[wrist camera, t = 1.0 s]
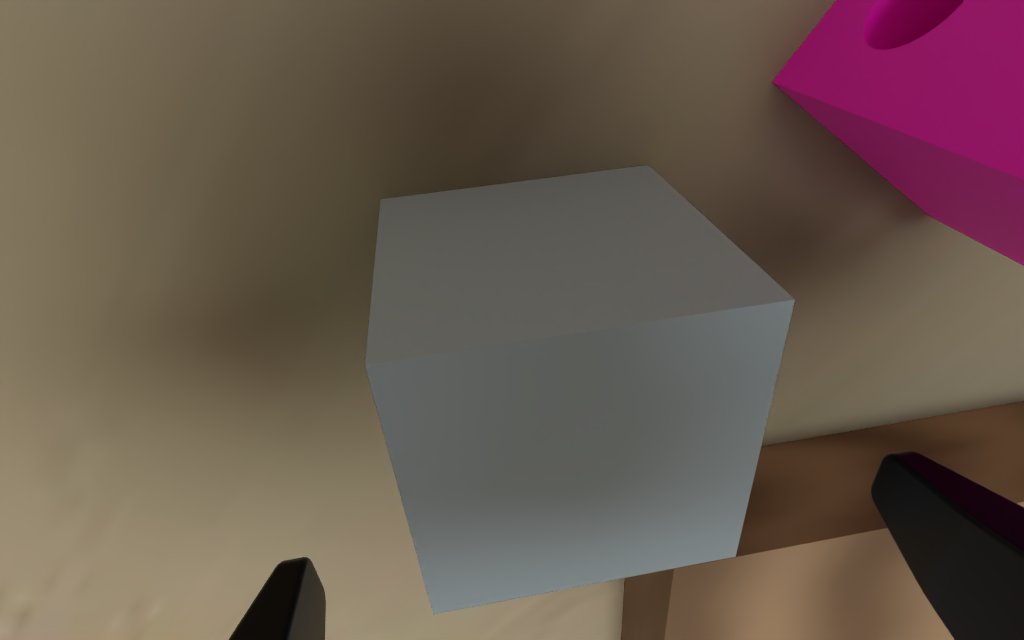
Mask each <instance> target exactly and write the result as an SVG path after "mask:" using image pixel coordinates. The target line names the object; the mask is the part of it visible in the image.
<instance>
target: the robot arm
mask: <svg viewBox="0 0 1024 640" xmlns="http://www.w3.org/2000/svg"><path fill="white" fill-rule="evenodd" d="M871 496H872V499H873V502H874V504H875V506H876V508H877V510H878V512H879V514H880V515H881V517H882V519H883V521H884V523H885V525H886V526H887V528H888V530H889V532H890V534H891V535H892V537H893V539H894V541H895V543H896V545H897V546H898V548H899V550H900V552H901V554H902V556H903V557H904V559H905V561H906V563H907V565H908V567H909V568H910V570H911V572H912V574H913V576H914V578H915V579H916V581H917V583H918V584H919V586H920V588H921V590H922V591H923V593H924V595H925V596H926V598H927V599H928V601H929V602H930V604H931V606H932V607H933V609H934V610H935V612H936V613H937V615H938V616H939V618H940V619H941V621H942V622H943V624H944V625H945V627H946V628H947V629H948V631H949V632H950V634H951V635H952V637H953V638H954V640H1024V507H1022V506H1021V505H1019V504H1017V503H1015V502H1013V501H1011V500H1009V499H1007V498H1005V497H1003V496H1001V495H999V494H997V493H995V492H994V491H992V490H990V489H988V488H986V487H984V486H982V485H980V484H978V483H976V482H974V481H972V480H970V479H969V478H967V477H965V476H963V475H961V474H959V473H957V472H955V471H953V470H951V469H949V468H947V467H945V466H943V465H942V464H940V463H938V462H936V461H934V460H932V459H930V458H928V457H926V456H924V455H922V454H920V453H918V452H915V451H911V450H906V451H900V452H894V453H889V454H887V455H885V456H884V457H883V459H882V461H881V463H880V466H879V468H878V471H877V473H876V476H875V478H874V481H873V483H872V486H871ZM325 612H326V600H325V592H324V588H323V586H322V583H321V581H320V579H319V577H318V574H317V572H316V570H315V568H314V566H313V563H312V561H311V560H310V559H309V558H307V557H302V558H296V559H291V560H285V561H282V562H281V563H279V564H278V565H277V566H276V568H275V569H274V571H273V572H272V574H271V575H270V577H269V578H268V580H267V581H266V583H265V584H264V586H263V588H262V589H261V591H260V592H259V594H258V595H257V597H256V598H255V600H254V601H253V603H252V604H251V606H250V608H249V609H248V611H247V612H246V614H245V615H244V617H243V618H242V620H241V621H240V623H239V624H238V626H237V628H236V629H235V631H234V632H233V634H232V635H231V637H230V638H229V640H325Z"/></svg>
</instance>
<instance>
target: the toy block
mask: <svg viewBox="0 0 1024 640" xmlns="http://www.w3.org/2000/svg"><path fill="white" fill-rule="evenodd" d="M773 83H774V84H775V85H776V86H778V87H779V88H780V89H781V90H782V91H783V92H785V93H786V94H787V95H788V96H789V97H790V98H792V99H793V100H794V101H795V102H796V103H797V104H799V105H800V106H801V107H802V108H803V109H804V110H806V111H807V112H808V113H809V114H810V115H811V116H813V117H814V118H815V119H816V120H817V121H819V122H820V123H821V124H822V125H823V126H824V127H826V128H827V129H828V130H829V131H830V132H831V133H833V134H834V135H835V136H836V137H837V138H838V139H840V140H841V141H842V142H843V143H844V144H845V145H847V146H848V147H849V148H850V149H851V150H852V151H854V152H855V153H856V154H857V155H858V156H860V157H861V158H862V159H863V160H864V161H865V162H867V163H868V164H869V165H870V166H871V167H872V168H874V169H875V170H876V171H877V172H878V173H879V174H881V175H882V176H883V177H884V178H885V179H886V180H888V181H889V182H890V183H891V184H892V185H893V186H895V187H896V188H897V189H898V190H899V191H901V192H902V193H903V194H904V195H905V196H906V197H908V198H909V199H910V200H911V201H912V202H913V203H915V204H916V205H917V206H918V207H919V208H920V209H922V210H923V211H924V212H925V213H926V214H927V215H929V216H930V217H932V218H934V219H936V220H938V221H940V222H942V223H944V224H946V225H948V226H949V227H951V228H953V229H955V230H957V231H959V232H961V233H963V234H965V235H966V236H968V237H970V238H972V239H974V240H976V241H978V242H980V243H982V244H984V245H985V246H987V247H989V248H991V249H993V250H995V251H997V252H999V253H1001V254H1003V255H1004V256H1006V257H1008V258H1010V259H1012V260H1014V261H1016V262H1018V263H1020V264H1021V265H1023V266H1024V0H836V1H835V3H834V4H833V5H832V7H831V8H830V9H829V10H828V12H827V13H826V14H825V15H824V17H823V18H822V19H821V21H820V22H819V23H818V24H817V26H816V27H815V28H814V29H813V31H812V32H811V33H810V35H809V36H808V37H807V38H806V40H805V41H804V42H803V43H802V45H801V46H800V47H799V49H798V50H797V51H796V52H795V54H794V55H793V56H792V57H791V59H790V60H789V61H788V62H787V64H786V65H785V66H784V68H783V69H782V70H781V71H780V73H779V74H778V75H777V76H776V78H775V79H774V80H773Z"/></svg>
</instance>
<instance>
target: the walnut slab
mask: <svg viewBox="0 0 1024 640" xmlns="http://www.w3.org/2000/svg"><path fill="white" fill-rule="evenodd" d="M906 450H911V451H915V452H918V453H920V454H922V455H924V456H926V457H928V458H930V459H932V460H934V461H936V462H938V463H940V464H942V465H943V466H945V467H947V468H949V469H951V470H953V471H955V472H957V473H959V474H961V475H963V476H965V477H967V478H969V479H970V480H972V481H974V482H976V483H978V484H980V485H982V486H984V487H986V488H988V489H990V490H992V491H994V492H995V493H997V494H999V495H1001V496H1003V497H1005V498H1007V499H1009V500H1011V501H1013V502H1015V503H1017V504H1019V505H1021V506H1022V507H1024V401H1022V402H1016V403H1010V404H1004V405H999V406H993V407H987V408H981V409H975V410H970V411H964V412H958V413H952V414H947V415H941V416H935V417H929V418H924V419H918V420H912V421H906V422H901V423H895V424H889V425H883V426H878V427H872V428H866V429H860V430H855V431H849V432H843V433H837V434H832V435H826V436H820V437H814V438H809V439H803V440H797V441H791V442H786V443H780V444H774V445H768V446H762V447H761V449H760V454H759V458H758V462H757V467H756V471H755V475H754V480H753V484H752V488H751V493H750V497H749V501H748V506H747V510H746V514H745V519H744V523H743V527H742V531H741V536H740V540H739V544H738V549H737V553H736V557H731V558H726V559H721V560H715V561H710V562H705V563H700V564H694V565H689V566H684V567H679V568H674V569H668V570H663V571H658V572H653V573H647V574H642V575H637V576H632V577H627V578H625V582H624V599H623V616H622V633H621V640H954V638H953V637H952V635H951V634H950V632H949V631H948V629H947V628H946V627H945V625H944V624H943V622H942V621H941V619H940V618H939V616H938V615H937V613H936V612H935V610H934V609H933V607H932V606H931V604H930V602H929V601H928V599H927V598H926V596H925V595H924V593H923V591H922V590H921V588H920V586H919V584H918V583H917V581H916V579H915V578H914V576H913V574H912V572H911V570H910V568H909V567H908V565H907V563H906V561H905V559H904V557H903V556H902V554H901V552H900V550H899V548H898V546H897V545H896V543H895V541H894V539H893V537H892V535H891V534H890V532H889V530H888V528H887V526H886V525H885V523H884V521H883V519H882V517H881V515H880V514H879V512H878V510H877V508H876V506H875V504H874V502H873V499H872V496H871V486H872V483H873V481H874V478H875V476H876V473H877V471H878V468H879V466H880V463H881V461H882V459H883V457H884V456H885V455H887V454H889V453H894V452H900V451H906Z"/></svg>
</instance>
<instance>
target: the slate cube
mask: <svg viewBox="0 0 1024 640" xmlns="http://www.w3.org/2000/svg"><path fill="white" fill-rule="evenodd" d="M794 302H795V299H794V298H793V297H792V296H791V295H790V294H789V293H788V292H786V291H785V290H784V289H783V288H782V287H781V286H780V285H779V284H778V283H777V282H776V281H774V280H773V279H772V278H771V277H770V276H769V275H768V274H767V273H766V272H765V271H764V270H763V269H761V268H760V267H759V266H758V265H757V264H756V263H755V262H754V261H753V260H752V259H751V258H749V257H748V256H747V255H746V254H745V253H744V252H743V251H742V250H741V249H740V248H739V247H737V246H736V245H735V244H734V243H733V242H732V241H731V240H730V239H729V238H728V237H727V236H725V235H724V234H723V233H722V232H721V231H720V230H719V229H718V228H717V227H716V226H715V225H713V224H712V223H711V222H710V221H709V220H708V219H707V218H706V217H705V216H704V215H703V214H702V213H700V212H699V211H698V210H697V209H696V208H695V207H694V206H693V205H692V204H691V203H690V202H688V201H687V200H686V199H685V198H684V197H683V196H682V195H681V194H680V193H679V192H678V191H676V190H675V189H674V188H673V187H672V186H671V185H670V184H669V183H668V182H667V181H666V180H664V179H663V178H662V177H661V176H660V175H659V174H658V173H657V172H656V171H655V170H654V169H652V168H651V167H650V166H649V165H644V166H636V167H629V168H621V169H613V170H605V171H597V172H590V173H582V174H574V175H566V176H558V177H551V178H543V179H535V180H527V181H519V182H511V183H504V184H496V185H488V186H480V187H472V188H465V189H457V190H449V191H441V192H433V193H426V194H418V195H410V196H402V197H394V198H387V199H380V209H379V220H378V230H377V241H376V252H375V262H374V273H373V284H372V294H371V305H370V315H369V326H368V337H367V347H366V358H365V368H366V371H367V375H368V378H369V382H370V386H371V389H372V393H373V397H374V400H375V404H376V408H377V411H378V415H379V419H380V422H381V426H382V429H383V433H384V437H385V440H386V444H387V448H388V451H389V455H390V459H391V462H392V466H393V469H394V473H395V477H396V480H397V484H398V488H399V491H400V495H401V499H402V502H403V506H404V509H405V513H406V517H407V520H408V524H409V528H410V531H411V535H412V539H413V542H414V546H415V550H416V553H417V557H418V560H419V564H420V568H421V571H422V575H423V579H424V582H425V586H426V590H427V593H428V597H429V600H430V604H431V608H432V611H433V614H438V613H444V612H449V611H454V610H459V609H465V608H470V607H475V606H480V605H485V604H491V603H496V602H501V601H506V600H512V599H517V598H522V597H527V596H532V595H538V594H543V593H548V592H553V591H559V590H564V589H569V588H574V587H580V586H585V585H590V584H595V583H600V582H606V581H611V580H616V579H621V578H627V577H632V576H637V575H642V574H647V573H653V572H658V571H663V570H668V569H674V568H679V567H684V566H689V565H694V564H700V563H705V562H710V561H715V560H721V559H726V558H731V557H736V553H737V549H738V544H739V540H740V536H741V531H742V527H743V523H744V519H745V514H746V510H747V506H748V501H749V497H750V493H751V488H752V484H753V480H754V475H755V471H756V467H757V462H758V458H759V454H760V449H761V445H762V441H763V436H764V432H765V428H766V423H767V419H768V415H769V411H770V406H771V402H772V398H773V393H774V389H775V385H776V380H777V376H778V372H779V367H780V363H781V359H782V354H783V350H784V346H785V341H786V337H787V333H788V328H789V324H790V320H791V315H792V311H793V307H794Z"/></svg>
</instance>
